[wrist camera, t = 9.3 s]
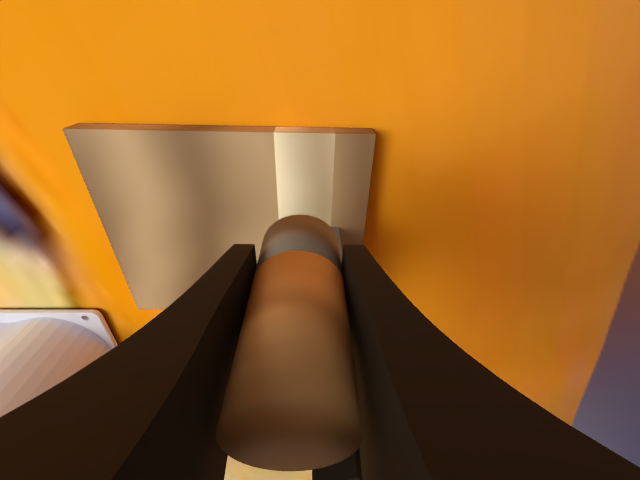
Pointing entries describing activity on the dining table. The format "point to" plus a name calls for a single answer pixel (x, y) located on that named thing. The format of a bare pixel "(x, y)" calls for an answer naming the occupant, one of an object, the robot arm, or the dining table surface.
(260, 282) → the tan capsule cylinder
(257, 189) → the subfloor panel
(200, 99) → the dining table surface
